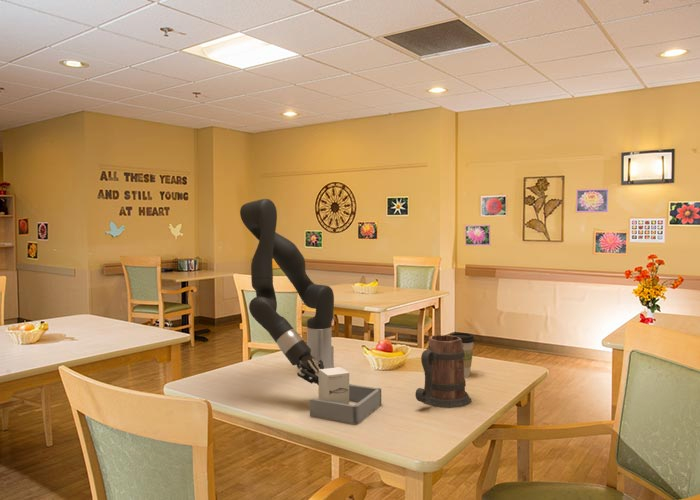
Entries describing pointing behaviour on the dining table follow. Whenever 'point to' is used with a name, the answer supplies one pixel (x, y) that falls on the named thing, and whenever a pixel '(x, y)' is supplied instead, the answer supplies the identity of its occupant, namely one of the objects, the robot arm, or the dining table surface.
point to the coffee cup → (466, 350)
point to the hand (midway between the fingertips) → (327, 390)
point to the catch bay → (348, 405)
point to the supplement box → (334, 385)
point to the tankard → (444, 373)
